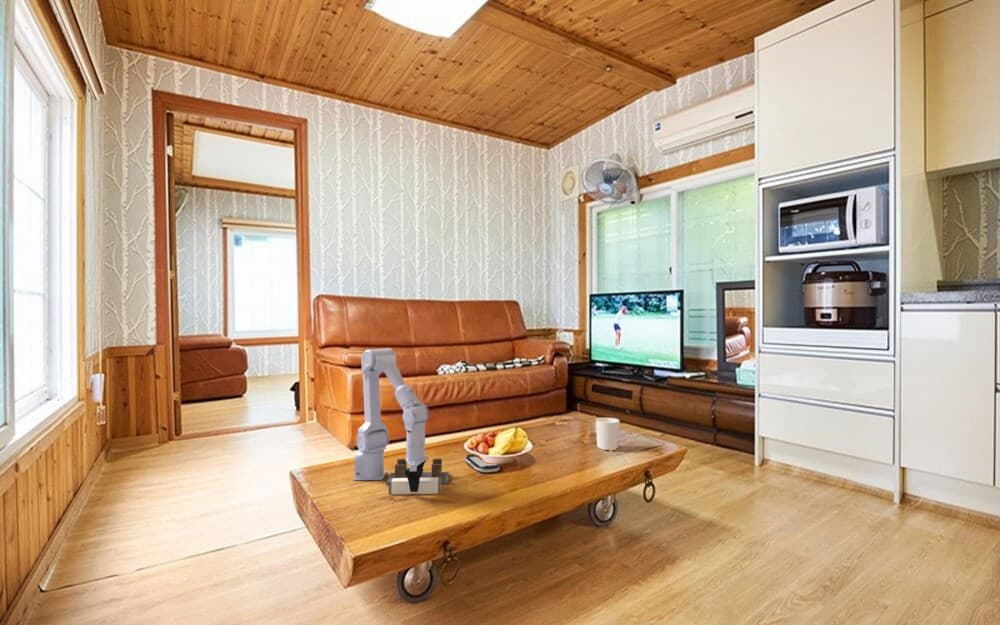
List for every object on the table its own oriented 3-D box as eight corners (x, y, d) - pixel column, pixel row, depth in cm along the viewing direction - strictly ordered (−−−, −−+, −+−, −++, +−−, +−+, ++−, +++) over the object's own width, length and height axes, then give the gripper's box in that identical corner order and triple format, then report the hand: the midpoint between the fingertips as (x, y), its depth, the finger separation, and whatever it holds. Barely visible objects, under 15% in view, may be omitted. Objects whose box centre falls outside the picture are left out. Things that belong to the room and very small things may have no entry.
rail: (388, 494, 146) (388, 481, 146) (390, 490, 149) (390, 478, 149) (440, 493, 148) (440, 480, 148) (441, 489, 151) (441, 477, 151)
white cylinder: (592, 445, 202) (592, 417, 202) (614, 445, 203) (614, 417, 203) (599, 452, 192) (599, 422, 192) (622, 451, 194) (623, 422, 194)
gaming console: (462, 460, 182) (462, 453, 182) (483, 457, 186) (483, 451, 186) (480, 476, 164) (480, 469, 164) (503, 473, 168) (503, 465, 168)
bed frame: (386, 485, 154) (386, 466, 154) (390, 475, 163) (390, 458, 163) (448, 483, 156) (448, 465, 156) (448, 474, 165) (449, 457, 165)
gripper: (426, 450, 142) (426, 495, 142) (430, 437, 156) (429, 478, 156) (402, 450, 141) (402, 496, 141) (408, 437, 155) (408, 478, 155)
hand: (415, 486), depth 148 cm, fingers open, 7 cm apart
